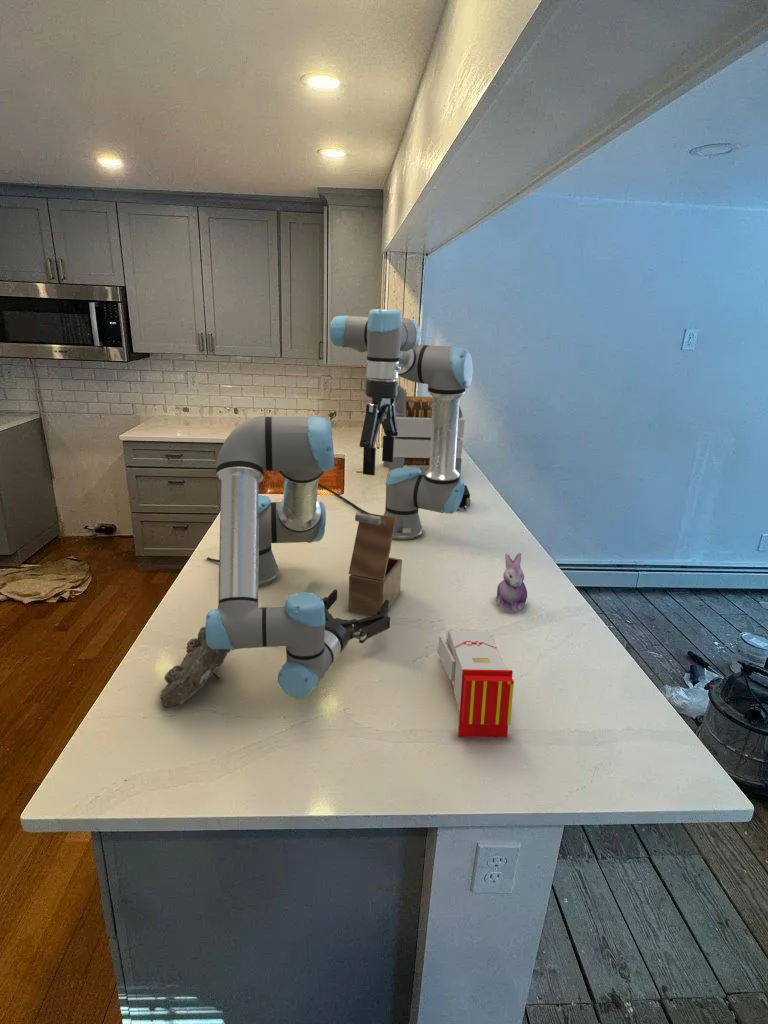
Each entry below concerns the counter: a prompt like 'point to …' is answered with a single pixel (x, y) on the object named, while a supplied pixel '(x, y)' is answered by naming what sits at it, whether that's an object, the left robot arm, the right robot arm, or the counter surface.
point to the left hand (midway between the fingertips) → (361, 599)
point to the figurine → (512, 586)
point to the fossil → (192, 670)
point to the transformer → (417, 432)
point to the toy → (478, 682)
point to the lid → (372, 545)
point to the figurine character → (465, 499)
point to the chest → (375, 589)
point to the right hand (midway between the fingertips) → (378, 467)
